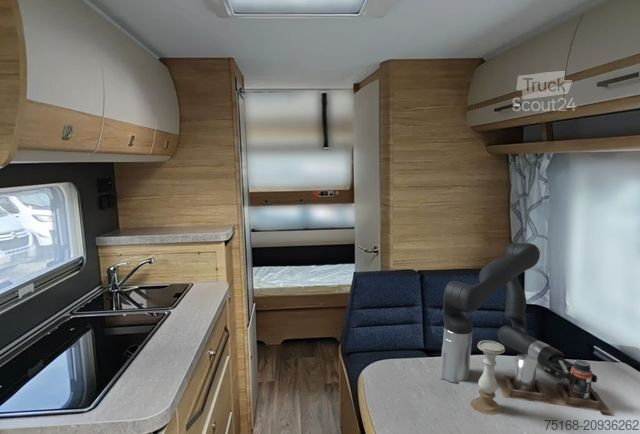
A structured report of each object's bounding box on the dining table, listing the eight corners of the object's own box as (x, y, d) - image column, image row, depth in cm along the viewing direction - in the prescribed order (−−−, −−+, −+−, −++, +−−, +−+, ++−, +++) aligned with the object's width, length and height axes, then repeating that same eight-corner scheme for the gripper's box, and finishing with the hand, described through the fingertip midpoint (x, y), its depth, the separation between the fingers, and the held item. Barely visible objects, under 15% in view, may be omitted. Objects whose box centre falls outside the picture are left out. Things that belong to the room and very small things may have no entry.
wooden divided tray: (503, 400, 138) (503, 391, 138) (497, 381, 150) (498, 372, 149) (610, 415, 131) (611, 406, 131) (595, 394, 143) (597, 386, 142)
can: (515, 393, 140) (518, 361, 138) (511, 384, 146) (514, 353, 144) (535, 396, 139) (539, 363, 137) (531, 387, 144) (534, 355, 143)
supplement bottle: (592, 403, 135) (597, 368, 133) (571, 400, 136) (575, 366, 134) (585, 392, 141) (589, 359, 139) (564, 390, 142) (568, 357, 140)
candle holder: (507, 412, 132) (513, 347, 129) (489, 421, 127) (495, 354, 124) (481, 398, 139) (487, 337, 136) (464, 406, 134) (469, 343, 131)
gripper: (529, 347, 148) (570, 372, 133) (563, 343, 153) (607, 367, 137) (527, 368, 150) (567, 395, 134) (561, 364, 154) (604, 389, 138)
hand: (587, 380), depth 135 cm, fingers closed on supplement bottle, 6 cm apart
